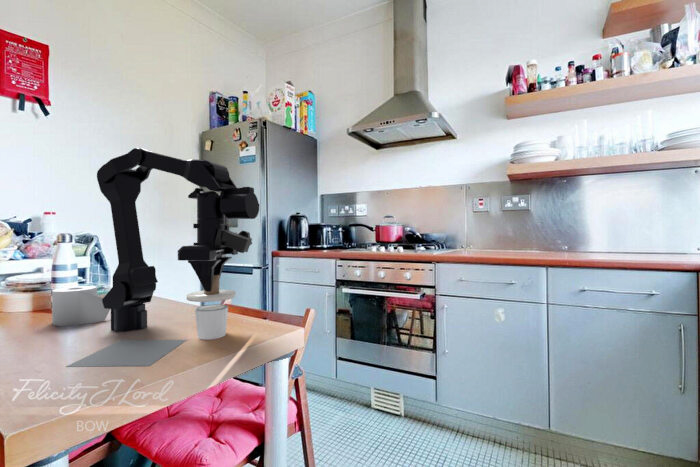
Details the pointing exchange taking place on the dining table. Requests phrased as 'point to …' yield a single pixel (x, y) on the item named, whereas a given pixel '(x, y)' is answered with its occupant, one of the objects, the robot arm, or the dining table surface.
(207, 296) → the lid
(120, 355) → the mat
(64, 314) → the toilet tissue
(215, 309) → the white cup
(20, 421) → the dining table surface
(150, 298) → the robot arm
